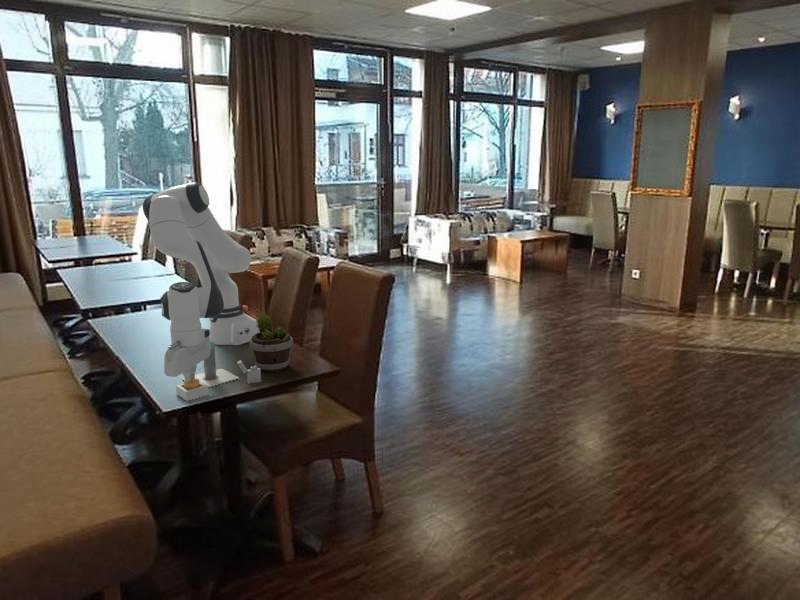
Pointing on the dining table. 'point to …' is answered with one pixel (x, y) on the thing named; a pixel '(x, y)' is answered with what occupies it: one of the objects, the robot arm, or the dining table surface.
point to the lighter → (251, 373)
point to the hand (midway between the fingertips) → (190, 380)
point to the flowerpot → (270, 346)
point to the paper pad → (220, 378)
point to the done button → (191, 384)
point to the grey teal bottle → (210, 364)
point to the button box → (192, 391)
